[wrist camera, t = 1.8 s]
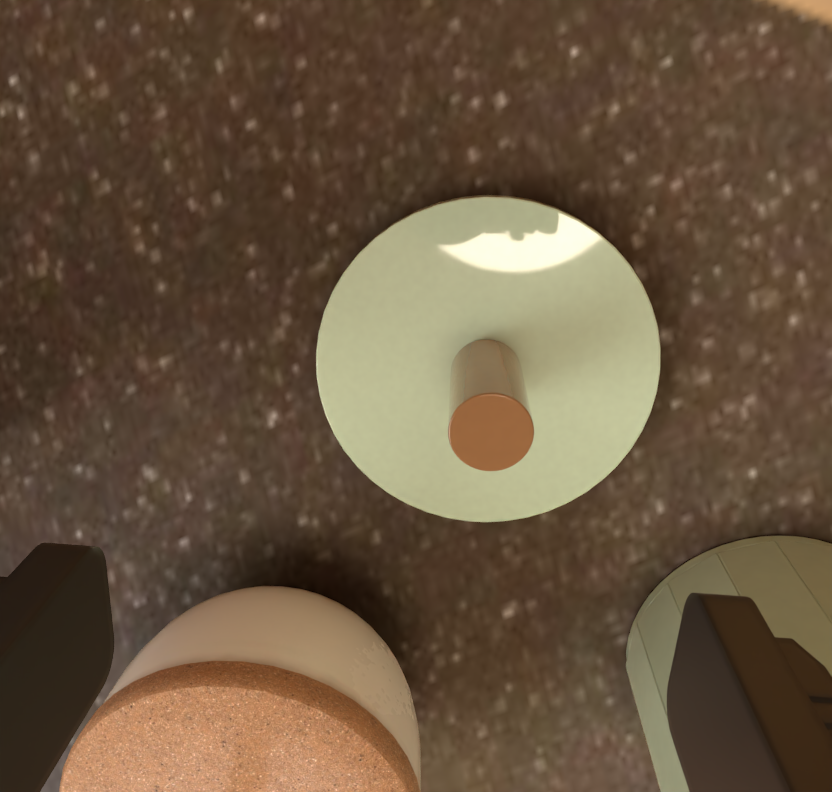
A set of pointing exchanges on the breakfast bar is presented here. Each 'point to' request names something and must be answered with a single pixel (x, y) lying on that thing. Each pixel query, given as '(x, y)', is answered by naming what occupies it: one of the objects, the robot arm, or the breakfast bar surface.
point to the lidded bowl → (255, 705)
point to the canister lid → (488, 358)
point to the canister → (739, 576)
